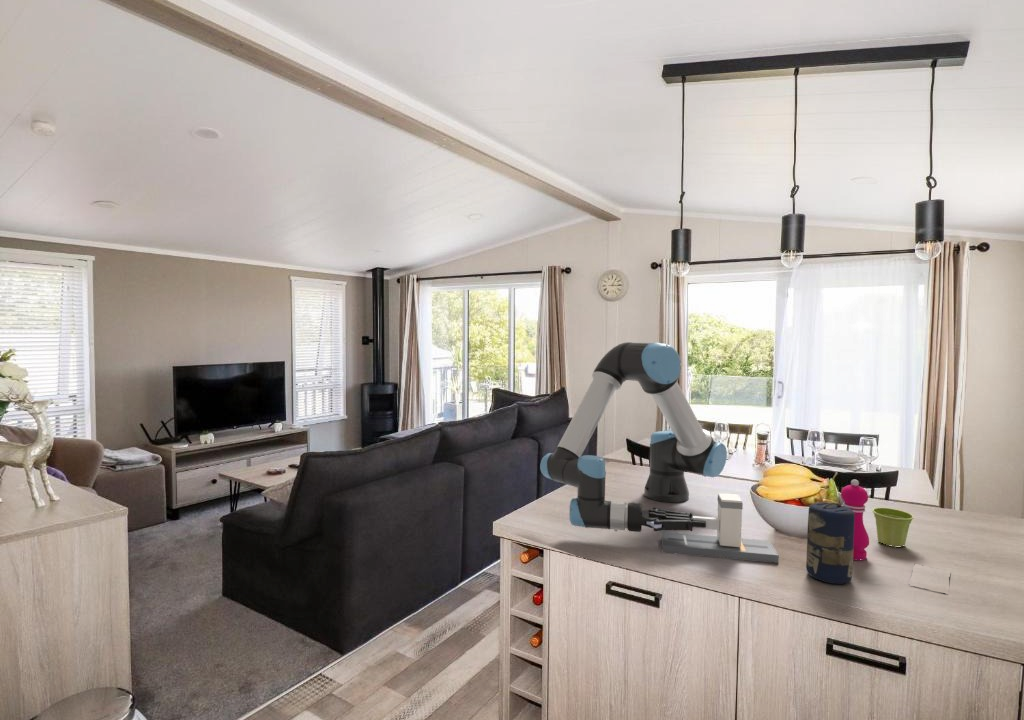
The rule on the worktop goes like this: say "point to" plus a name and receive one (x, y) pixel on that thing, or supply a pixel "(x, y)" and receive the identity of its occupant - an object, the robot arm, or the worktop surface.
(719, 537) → the fader knob
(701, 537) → the fader console
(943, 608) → the worktop surface
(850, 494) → the pepper mill
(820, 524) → the canister
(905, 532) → the plant pot
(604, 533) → the worktop surface
